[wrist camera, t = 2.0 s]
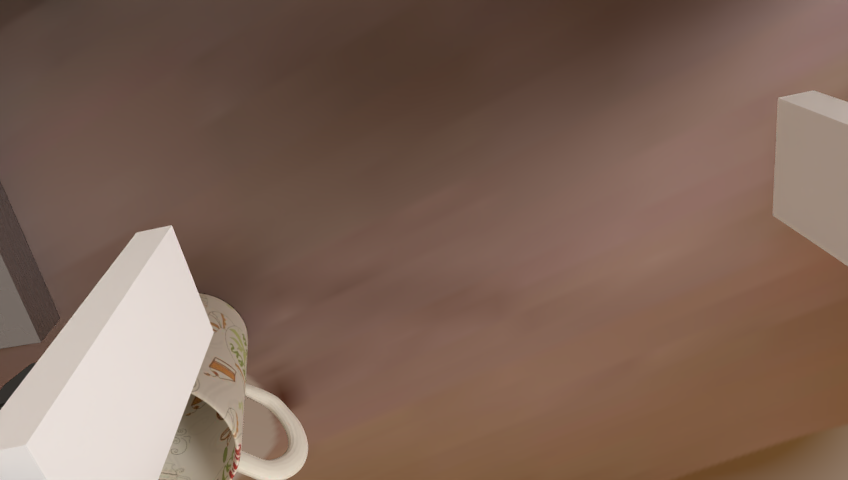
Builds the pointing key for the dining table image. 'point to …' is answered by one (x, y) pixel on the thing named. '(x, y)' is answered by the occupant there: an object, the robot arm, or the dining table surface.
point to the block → (21, 286)
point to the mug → (228, 412)
